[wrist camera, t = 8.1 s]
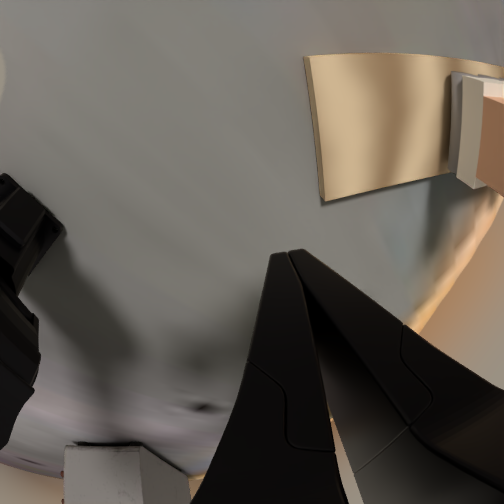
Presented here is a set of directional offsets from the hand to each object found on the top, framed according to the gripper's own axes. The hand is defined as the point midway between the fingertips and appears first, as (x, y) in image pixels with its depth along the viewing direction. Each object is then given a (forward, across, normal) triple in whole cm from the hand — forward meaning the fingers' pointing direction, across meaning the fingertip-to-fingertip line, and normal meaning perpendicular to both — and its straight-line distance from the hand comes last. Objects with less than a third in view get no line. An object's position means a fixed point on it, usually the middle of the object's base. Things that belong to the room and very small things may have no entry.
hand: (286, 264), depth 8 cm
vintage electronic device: (+11, +33, +60) cm, 69 cm away
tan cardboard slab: (+14, -16, 0) cm, 21 cm away
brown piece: (+12, -20, -1) cm, 24 cm away
